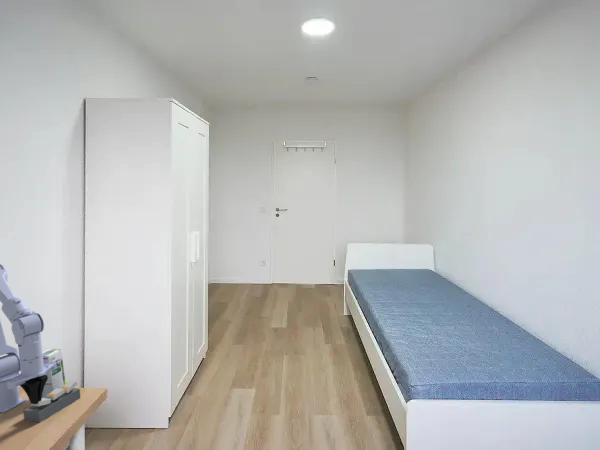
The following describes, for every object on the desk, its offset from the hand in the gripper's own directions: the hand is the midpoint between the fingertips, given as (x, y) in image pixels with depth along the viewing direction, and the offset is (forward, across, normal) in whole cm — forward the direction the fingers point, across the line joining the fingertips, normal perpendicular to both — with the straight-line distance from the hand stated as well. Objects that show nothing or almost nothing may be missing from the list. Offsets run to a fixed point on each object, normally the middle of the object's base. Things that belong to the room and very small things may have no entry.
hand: (36, 402), depth 130 cm
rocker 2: (+1, +7, 0) cm, 7 cm away
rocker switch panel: (+5, +7, +1) cm, 9 cm away
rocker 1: (+1, +2, 0) cm, 2 cm away
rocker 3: (+1, +12, 0) cm, 12 cm away
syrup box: (+6, +14, +9) cm, 17 cm away
